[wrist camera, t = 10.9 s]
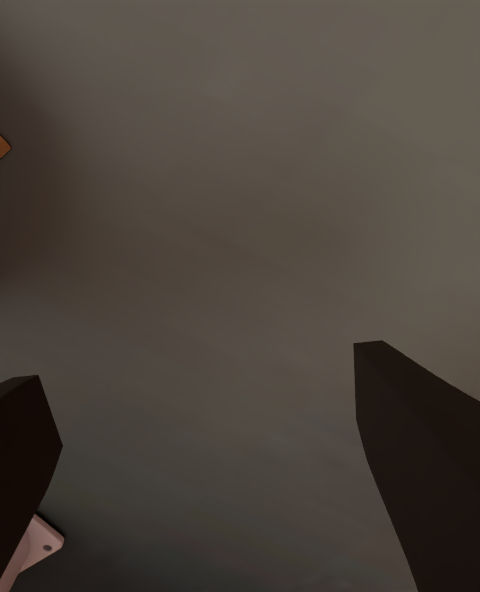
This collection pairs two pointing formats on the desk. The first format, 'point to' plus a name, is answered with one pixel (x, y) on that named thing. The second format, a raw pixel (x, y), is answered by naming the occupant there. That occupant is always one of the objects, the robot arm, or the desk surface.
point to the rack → (3, 147)
